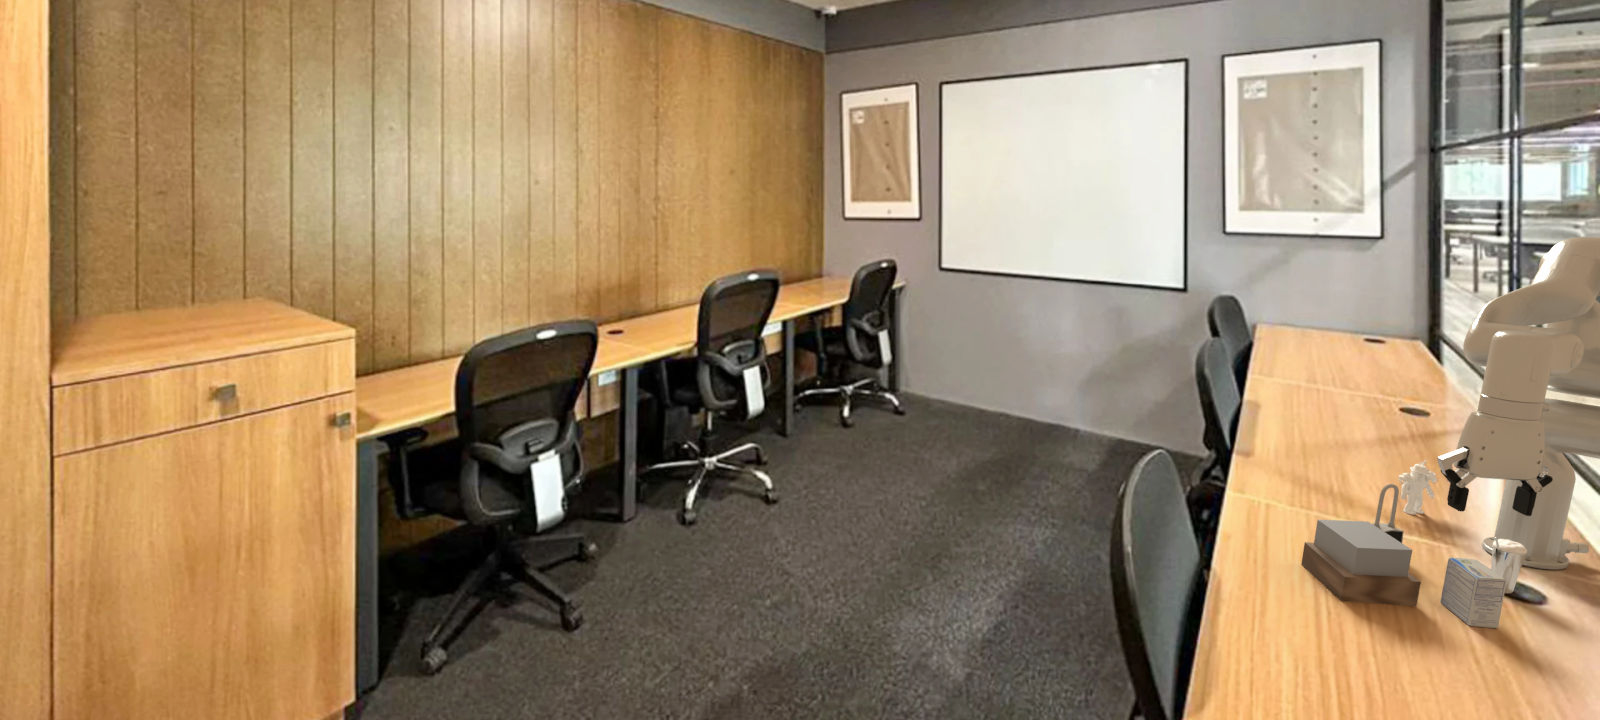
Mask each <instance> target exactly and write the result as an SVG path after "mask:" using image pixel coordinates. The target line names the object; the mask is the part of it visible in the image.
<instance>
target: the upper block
mask: <svg viewBox="0 0 1600 720" xmlns="http://www.w3.org/2000/svg"><path fill="white" fill-rule="evenodd" d="M1316 521H1317V522H1316V527H1315V528H1316V529H1315V534H1314V541H1313V543H1314V545H1315V546H1316V547H1318V548H1319V549H1320V550H1322V551H1323V552H1324V553H1325V554H1327V555H1328V556H1329V557H1331V558H1332V559H1333V560H1335V561H1336V562H1337V563H1338V564H1340V565H1341V566H1342V567H1344V568H1345V569H1346V570H1348V571H1349V572H1350V573H1352V574H1353V575H1375V576H1398V577H1408V573H1410V566H1411V560H1412V555H1413V554H1412V553H1413V549H1411V548H1410V547H1409V546H1407V545H1405V544H1404V543H1403V542H1402V543H1401V542H1399V541H1398V540H1396V539H1395V538H1393V537H1391V536H1390V535H1388V534H1387V533H1385V532H1384V531H1382V530H1380V529H1379V528H1377V527H1376V526H1374V525H1373V523H1371V522H1369V521H1368V520H1367V521H1366V520H1365V521H1361V520H1341V519H1340V520H1337V519H1335V520H1334V519H1332V520H1331V519H1317V520H1316Z"/></svg>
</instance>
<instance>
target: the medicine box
mask: <svg viewBox="0 0 1600 720" xmlns="http://www.w3.org/2000/svg"><path fill="white" fill-rule="evenodd" d="M1444 575H1445V576H1444V581H1443V585H1442V591H1441V597H1440V604H1442V605H1443V606H1444V607H1446V608H1447V609H1448V610H1449V611H1451V612H1452V613H1453V614H1454V615H1455V616H1456V617H1458V618H1459V619H1460V620H1461V621H1463V622H1464V623H1465V624H1466V625H1467V626H1469V627H1470V626H1471V627H1476V628H1477V627H1479V628H1490V629H1498V628H1499V624H1500V617H1501V614H1502V609H1503V603H1504V599H1505V598H1504V597H1505V594H1506V593H1505V588H1506V582H1507V581H1506V580H1505V579H1504V578H1502V577H1501V576H1500V575H1498V574H1497V573H1495V572H1494V571H1492V570H1491V567H1490V568H1489V567H1488V566H1487V565H1485V564H1484V563H1482V562H1481V561H1479V560H1478V559H1474V558H1473V559H1472V558H1465V557H1449V558H1448V560H1447V565H1446V569H1445V574H1444Z"/></svg>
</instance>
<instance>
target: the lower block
mask: <svg viewBox="0 0 1600 720" xmlns="http://www.w3.org/2000/svg"><path fill="white" fill-rule="evenodd" d="M1303 545H1304V546H1303V550H1302V557H1301V558H1302V559H1301V566H1302V567H1303V568H1304V569H1305V570H1307V572H1309V573H1310V574H1311V575H1312V576H1313V577H1314V578H1315V579H1316V580H1317V581H1318V582H1320V583H1321V584H1322V585H1323V587H1325V588H1326V589H1327V590H1328V591H1329V592H1330V593H1331V594H1332V595H1334V597H1336V598H1337V599H1338V600H1339V601H1340V602H1346V603H1347V602H1348V603H1360V604H1362V603H1363V604H1374V605H1378V604H1379V605H1389V606H1400V607H1401V606H1403V607H1417V606H1418V600H1419V594H1420V590H1421V584H1422V583H1421V582H1422V581H1421V580H1420V579H1418V578H1416V577H1415V576H1414V575H1412V574H1411V573H1410V572H1408V577H1398V576H1375V575H1353V574H1352V573H1350V572H1349V571H1348V570H1346V569H1345V568H1344V567H1342V566H1341V565H1340V564H1338V563H1337V562H1336V561H1335V560H1333V559H1332V558H1331V557H1329V556H1328V555H1327V554H1325V553H1324V552H1323V551H1322V550H1320V549H1319V548H1318V547H1316V546H1315V545H1314V542H1308V541H1307V542H1304V544H1303Z"/></svg>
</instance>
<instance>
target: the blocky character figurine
mask: <svg viewBox="0 0 1600 720" xmlns="http://www.w3.org/2000/svg"><path fill="white" fill-rule="evenodd" d="M1427 460H1428V459H1427V458H1426V459H1424V460H1423V461H1420V462H1419V463H1416V464H1414V466H1409V470H1410V472H1404V473H1403V472H1402V474H1399V475H1398V481H1399V483H1400V484H1401V491H1400V492H1401V493H1400V498H1401V499H1402V500H1407V502H1406V504H1405V506H1404V508H1403V510H1402V512H1404V513H1406V514H1408V515H1411V516H1416V515H1417V514H1419V515H1420V514H1421V515H1424V513H1425V511H1424V510H1422V507H1423V502H1424V496H1423V495H1424V489H1425V490H1426V493H1427V496H1429V498H1430V499H1434V498H1435V492H1434V491H1433V488H1432V486H1431V485H1430V481H1431V483H1432V484H1436V483H1437V482H1438V479H1439V478H1437V477H1436V476H1437V474H1436V472H1435V471H1432V470H1429V469H1428V468H1427V467H1426V466H1425V465H1426V464H1427Z"/></svg>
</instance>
